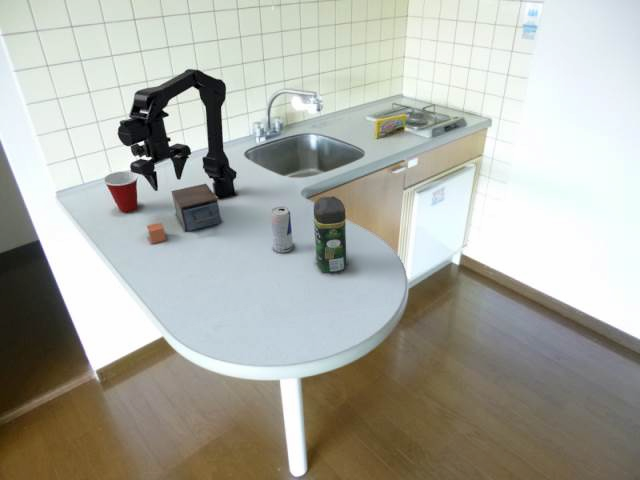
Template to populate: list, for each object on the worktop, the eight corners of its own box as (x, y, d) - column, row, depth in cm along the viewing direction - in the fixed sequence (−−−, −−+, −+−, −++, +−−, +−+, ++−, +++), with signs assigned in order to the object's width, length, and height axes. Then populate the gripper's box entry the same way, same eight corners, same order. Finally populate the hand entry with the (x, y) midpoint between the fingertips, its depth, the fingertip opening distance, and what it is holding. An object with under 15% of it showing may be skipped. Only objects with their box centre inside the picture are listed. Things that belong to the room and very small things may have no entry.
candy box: (376, 139, 209) (377, 121, 205) (374, 138, 211) (374, 120, 207) (405, 132, 216) (406, 114, 212) (402, 131, 218) (403, 113, 213)
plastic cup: (135, 217, 153) (126, 184, 147) (106, 215, 155) (95, 182, 149) (152, 202, 162) (144, 170, 156) (124, 201, 164) (115, 169, 158)
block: (163, 234, 143) (161, 222, 141) (166, 240, 140) (163, 228, 138) (149, 237, 141) (146, 225, 139) (152, 244, 138) (149, 231, 136)
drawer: (224, 229, 142) (221, 209, 139) (191, 237, 139) (187, 218, 135) (210, 207, 156) (206, 189, 152) (179, 214, 152) (175, 196, 148)
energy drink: (295, 244, 135) (292, 207, 128) (288, 254, 130) (285, 216, 124) (278, 242, 136) (275, 205, 130) (271, 251, 132) (267, 214, 126)
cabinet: (221, 222, 148) (217, 198, 144) (185, 231, 144) (180, 207, 139) (210, 206, 158) (205, 183, 154) (176, 214, 154) (171, 191, 150)
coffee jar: (314, 255, 129) (311, 195, 120) (342, 252, 130) (341, 192, 120) (318, 275, 121) (315, 212, 111) (348, 272, 122) (348, 209, 112)
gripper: (161, 122, 145) (171, 169, 153) (111, 141, 131) (125, 191, 139) (187, 127, 140) (196, 175, 148) (137, 147, 126) (150, 199, 134)
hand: (167, 184), depth 142 cm, fingers open, 9 cm apart
